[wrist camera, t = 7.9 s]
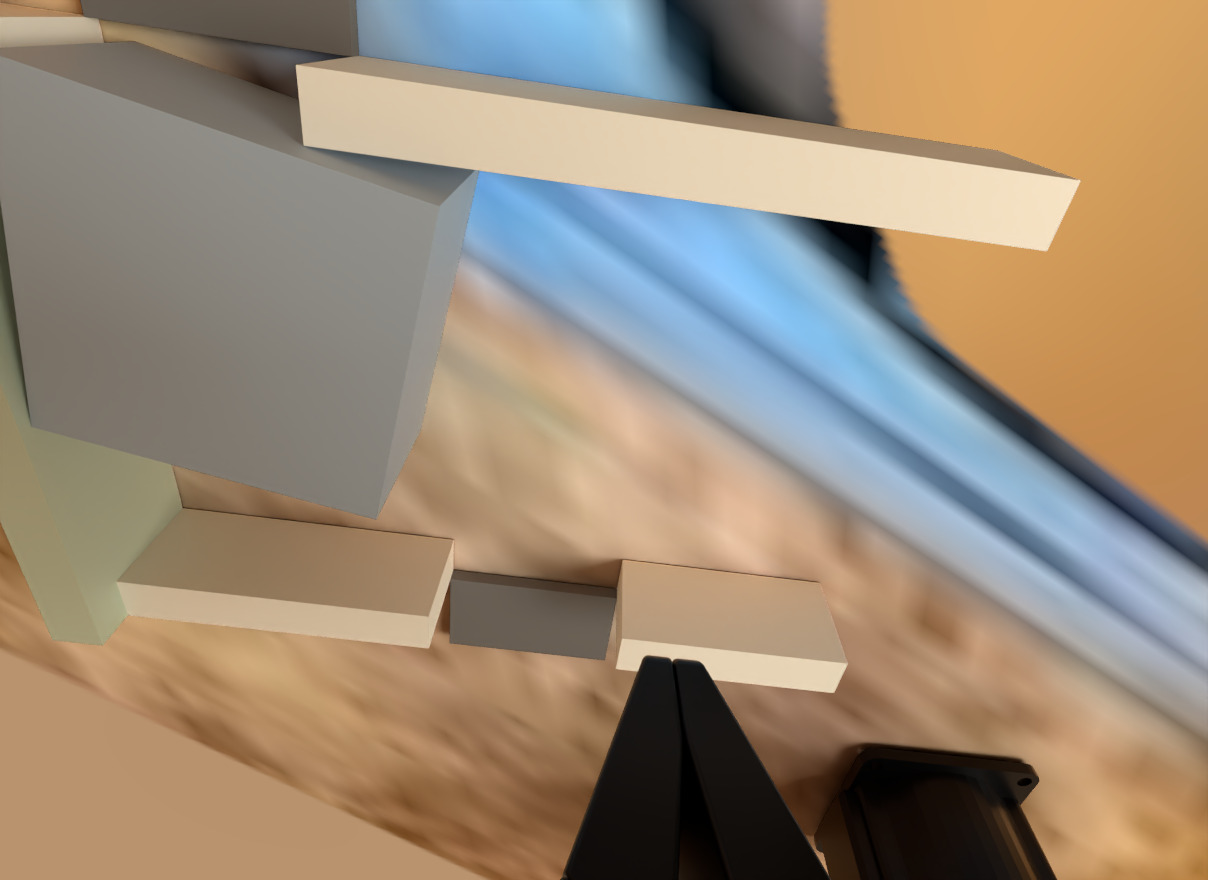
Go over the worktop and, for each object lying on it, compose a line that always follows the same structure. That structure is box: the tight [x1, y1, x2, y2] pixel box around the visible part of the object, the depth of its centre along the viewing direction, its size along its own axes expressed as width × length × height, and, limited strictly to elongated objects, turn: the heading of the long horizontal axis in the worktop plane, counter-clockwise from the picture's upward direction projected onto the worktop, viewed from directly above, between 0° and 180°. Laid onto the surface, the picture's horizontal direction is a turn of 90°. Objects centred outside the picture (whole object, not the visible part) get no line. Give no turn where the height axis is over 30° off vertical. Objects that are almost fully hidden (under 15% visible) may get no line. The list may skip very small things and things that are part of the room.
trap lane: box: [0, 2, 1081, 693], centre depth 16 cm, size 20×13×3 cm
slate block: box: [0, 41, 479, 520], centre depth 14 cm, size 7×7×4 cm
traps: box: [80, 0, 617, 660], centre depth 17 cm, size 6×22×1 cm, turn 16°
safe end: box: [0, 202, 183, 646], centre depth 15 cm, size 1×13×4 cm, turn 173°
